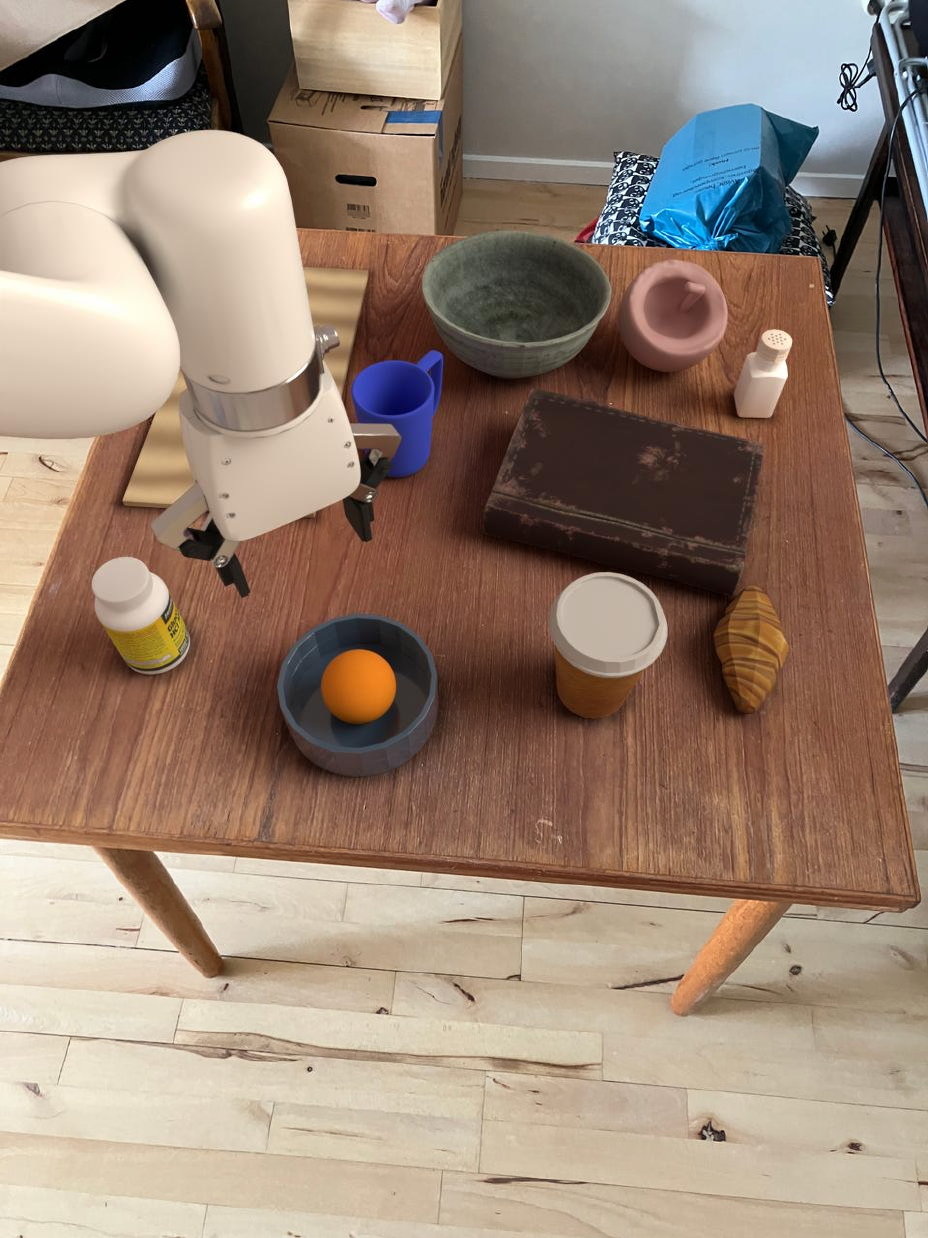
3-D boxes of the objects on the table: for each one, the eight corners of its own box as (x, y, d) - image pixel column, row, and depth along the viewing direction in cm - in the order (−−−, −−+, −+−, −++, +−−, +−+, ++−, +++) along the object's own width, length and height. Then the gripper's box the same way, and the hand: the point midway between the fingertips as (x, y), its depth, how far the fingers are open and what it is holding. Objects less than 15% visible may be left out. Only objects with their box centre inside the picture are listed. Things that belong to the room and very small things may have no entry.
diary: (729, 604, 85) (743, 574, 81) (481, 541, 89) (482, 509, 85) (754, 467, 94) (768, 433, 90) (530, 416, 98) (533, 381, 94)
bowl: (407, 403, 100) (402, 331, 91) (442, 288, 111) (441, 214, 102) (590, 427, 98) (602, 356, 89) (607, 307, 109) (619, 234, 100)
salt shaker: (766, 395, 101) (793, 326, 93) (772, 420, 98) (799, 352, 90) (731, 394, 101) (754, 325, 93) (736, 419, 98) (760, 351, 90)
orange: (332, 743, 76) (322, 710, 71) (321, 680, 79) (310, 643, 74) (404, 727, 77) (400, 693, 72) (390, 666, 80) (385, 628, 75)
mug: (470, 429, 97) (471, 357, 89) (407, 498, 92) (402, 429, 83) (410, 400, 100) (405, 328, 91) (345, 466, 94) (333, 395, 86)
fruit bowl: (298, 792, 74) (289, 769, 70) (278, 659, 81) (268, 630, 77) (453, 757, 76) (452, 732, 72) (420, 630, 83) (418, 600, 79)
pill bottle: (198, 664, 81) (164, 596, 72) (130, 686, 80) (87, 619, 70) (184, 611, 84) (150, 540, 75) (119, 632, 83) (76, 561, 74)
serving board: (314, 518, 90) (313, 513, 90) (124, 505, 91) (121, 500, 91) (368, 275, 112) (368, 269, 111) (214, 266, 113) (212, 261, 112)
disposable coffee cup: (623, 752, 76) (648, 685, 66) (522, 710, 79) (531, 640, 68) (657, 665, 81) (685, 591, 71) (561, 629, 83) (575, 551, 73)
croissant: (711, 589, 86) (724, 558, 82) (782, 601, 85) (799, 571, 81) (703, 711, 79) (717, 684, 74) (780, 725, 78) (799, 699, 74)
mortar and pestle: (641, 405, 100) (660, 321, 90) (593, 339, 106) (606, 254, 96) (732, 378, 102) (760, 293, 92) (681, 315, 108) (702, 230, 98)
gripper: (359, 287, 54) (381, 476, 68) (83, 386, 49) (168, 567, 64) (419, 359, 50) (428, 542, 65) (127, 473, 46) (207, 644, 60)
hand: (299, 554), depth 64 cm, fingers open, 9 cm apart
